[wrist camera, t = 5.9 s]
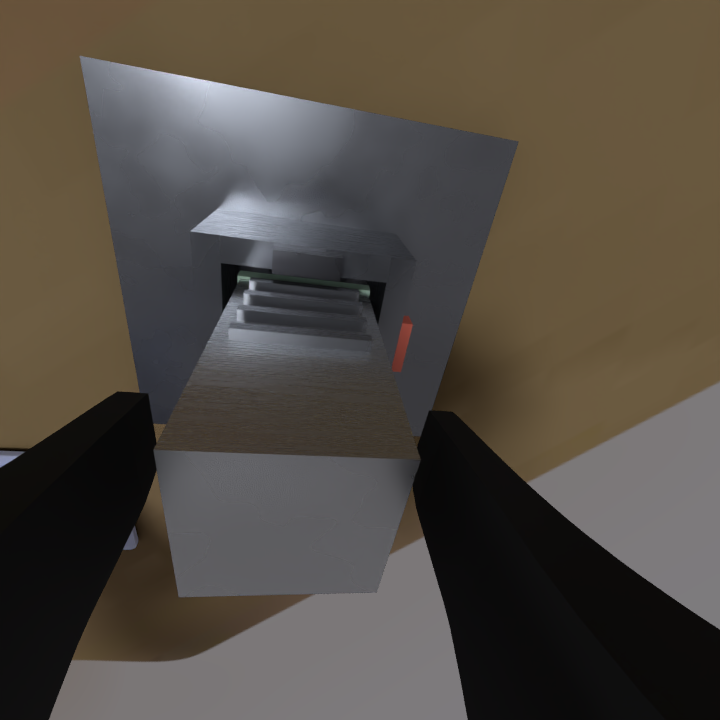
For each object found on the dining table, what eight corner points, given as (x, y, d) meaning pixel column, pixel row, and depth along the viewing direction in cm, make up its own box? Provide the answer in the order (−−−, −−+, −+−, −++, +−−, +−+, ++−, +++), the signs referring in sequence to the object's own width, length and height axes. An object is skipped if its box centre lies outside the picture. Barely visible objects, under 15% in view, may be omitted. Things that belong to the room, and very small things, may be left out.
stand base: (153, 409, 19) (106, 489, 15) (96, 61, 12) (-24, 23, 8) (418, 424, 21) (444, 496, 17) (506, 141, 14) (586, 145, 10)
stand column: (242, 374, 14) (175, 599, 7) (241, 261, 12) (144, 433, 5) (350, 382, 15) (379, 594, 8) (368, 276, 13) (430, 446, 6)
